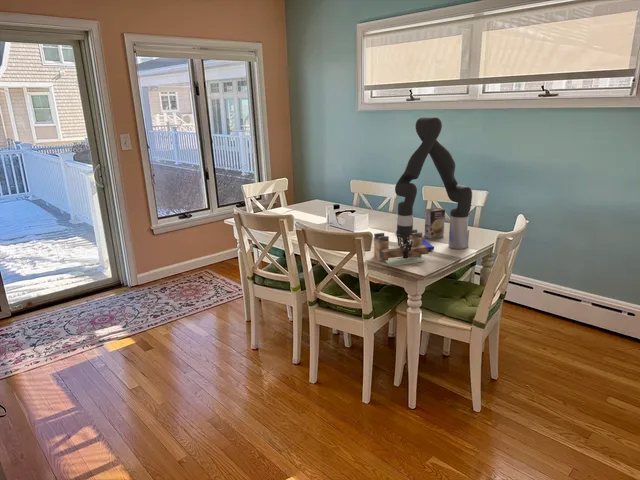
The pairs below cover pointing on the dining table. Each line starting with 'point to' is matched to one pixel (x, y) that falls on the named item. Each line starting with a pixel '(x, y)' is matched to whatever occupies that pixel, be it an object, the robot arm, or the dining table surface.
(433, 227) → the coffee box
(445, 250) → the dining table surface
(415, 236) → the post
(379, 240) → the post
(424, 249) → the rail
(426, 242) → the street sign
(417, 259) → the mat
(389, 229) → the dining table surface
